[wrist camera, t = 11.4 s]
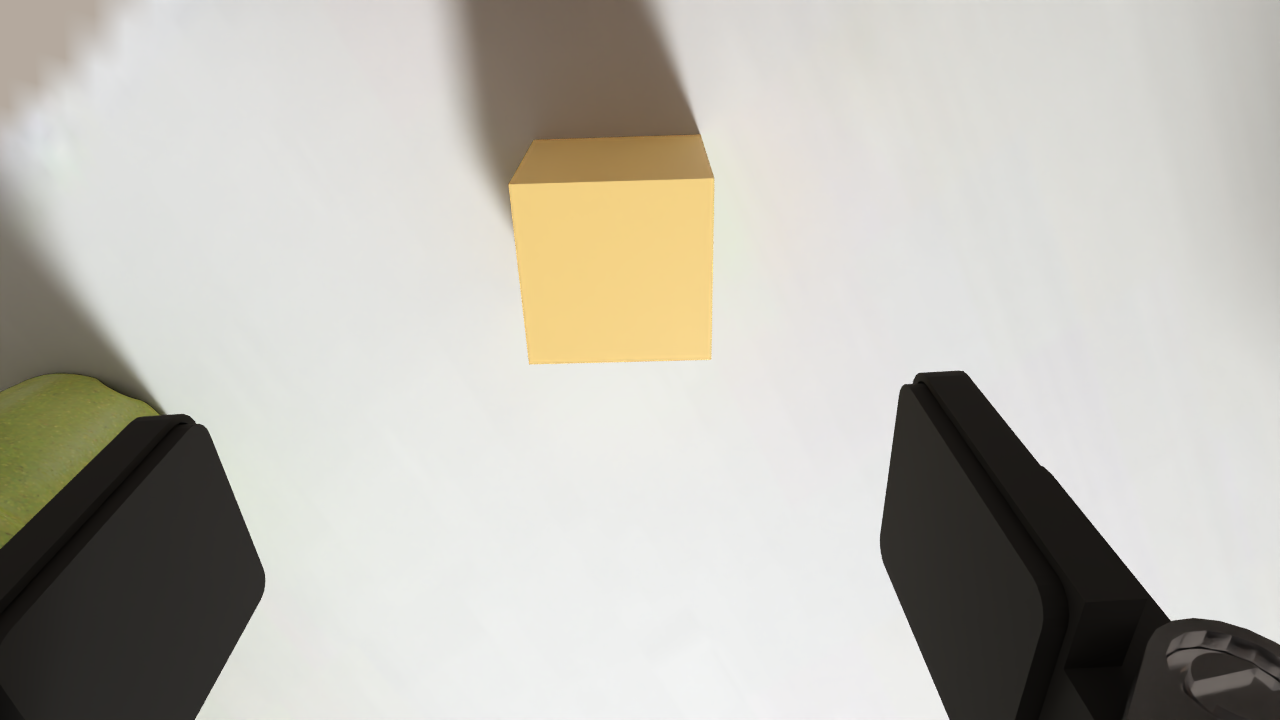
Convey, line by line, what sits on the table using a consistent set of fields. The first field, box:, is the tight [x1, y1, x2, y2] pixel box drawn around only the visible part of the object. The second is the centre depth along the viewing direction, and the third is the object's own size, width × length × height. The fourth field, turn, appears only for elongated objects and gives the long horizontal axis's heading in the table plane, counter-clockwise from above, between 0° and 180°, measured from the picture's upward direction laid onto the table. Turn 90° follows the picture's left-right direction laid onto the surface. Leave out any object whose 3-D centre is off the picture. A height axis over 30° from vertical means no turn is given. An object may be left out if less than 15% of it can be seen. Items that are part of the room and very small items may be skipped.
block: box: [508, 134, 714, 364], centre depth 19 cm, size 4×4×4 cm
